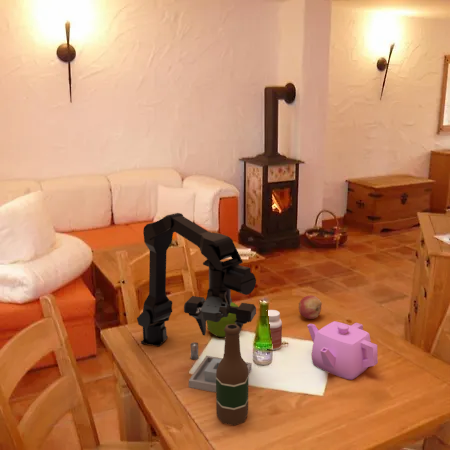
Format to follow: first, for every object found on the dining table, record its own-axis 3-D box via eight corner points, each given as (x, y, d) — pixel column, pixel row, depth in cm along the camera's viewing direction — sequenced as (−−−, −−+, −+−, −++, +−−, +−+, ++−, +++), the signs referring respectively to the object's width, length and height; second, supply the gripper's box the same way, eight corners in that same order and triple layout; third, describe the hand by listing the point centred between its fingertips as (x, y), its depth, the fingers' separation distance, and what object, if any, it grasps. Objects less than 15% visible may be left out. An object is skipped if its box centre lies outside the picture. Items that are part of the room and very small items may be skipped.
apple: (246, 329, 169) (246, 299, 167) (229, 343, 161) (229, 311, 158) (217, 322, 175) (217, 292, 172) (200, 335, 166) (199, 304, 163)
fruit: (305, 324, 173) (306, 302, 171) (294, 315, 180) (294, 294, 178) (325, 320, 175) (326, 299, 173) (313, 311, 182) (314, 290, 180)
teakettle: (379, 380, 140) (383, 339, 137) (318, 382, 140) (320, 341, 136) (360, 349, 157) (363, 312, 153) (305, 351, 156) (306, 313, 153)
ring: (229, 385, 137) (229, 375, 136) (204, 380, 139) (204, 370, 138) (238, 368, 145) (238, 359, 144) (215, 364, 147) (215, 355, 147)
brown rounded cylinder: (189, 359, 152) (189, 345, 150) (192, 355, 154) (192, 341, 152) (196, 360, 151) (196, 346, 150) (199, 356, 153) (199, 342, 152)
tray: (188, 387, 137) (188, 380, 137) (206, 362, 150) (206, 355, 149) (237, 396, 133) (237, 389, 133) (251, 369, 146) (251, 363, 145)
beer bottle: (215, 407, 129) (214, 319, 122) (246, 405, 129) (246, 318, 123) (217, 427, 121) (216, 334, 115) (250, 425, 122) (251, 333, 116)
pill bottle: (285, 347, 158) (286, 314, 155) (269, 352, 155) (270, 319, 152) (273, 339, 163) (273, 306, 160) (257, 344, 160) (257, 311, 157)
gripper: (174, 290, 131) (176, 346, 135) (245, 300, 125) (244, 357, 129) (191, 275, 141) (192, 327, 145) (257, 283, 135) (256, 337, 140)
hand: (220, 337), depth 140 cm, fingers open, 9 cm apart
